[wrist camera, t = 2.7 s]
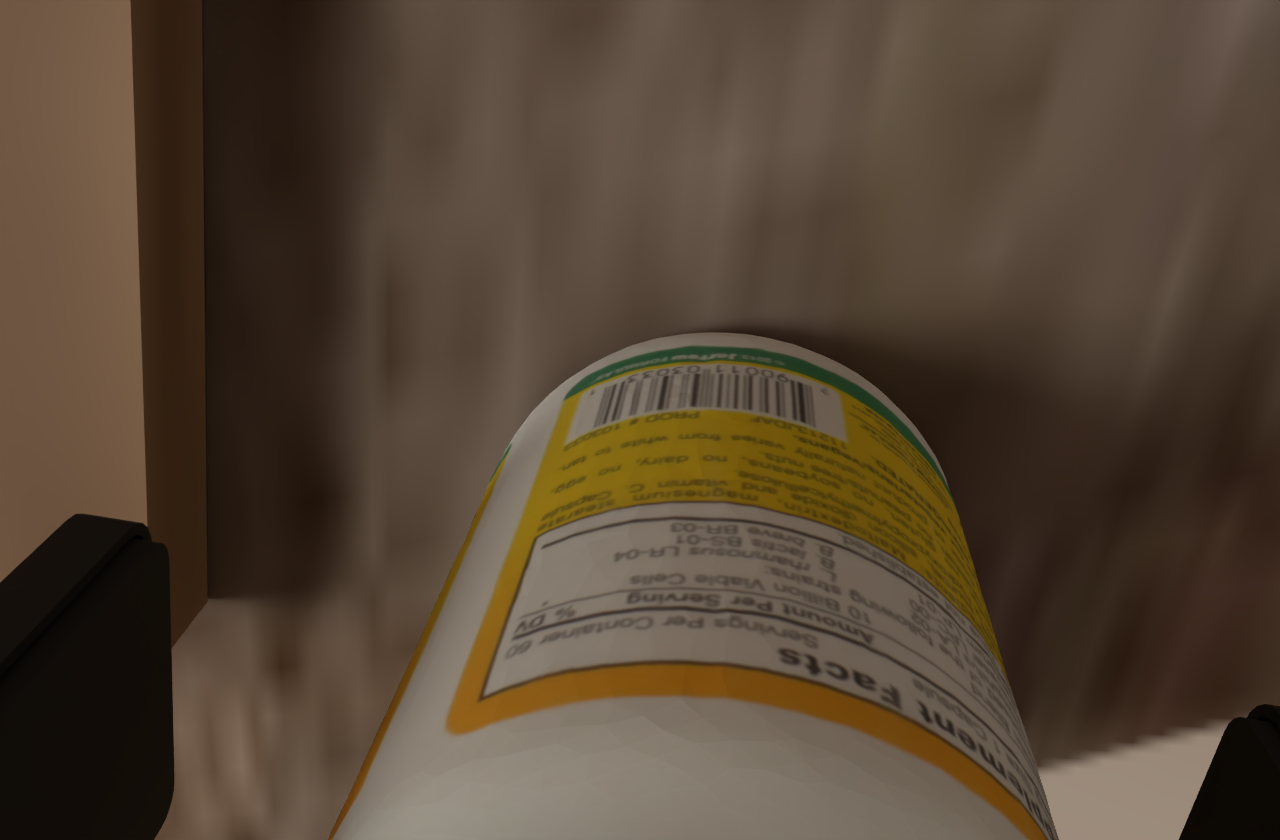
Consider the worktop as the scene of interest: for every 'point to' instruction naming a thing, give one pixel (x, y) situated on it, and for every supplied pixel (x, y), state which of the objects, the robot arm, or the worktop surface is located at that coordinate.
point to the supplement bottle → (707, 626)
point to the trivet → (103, 277)
